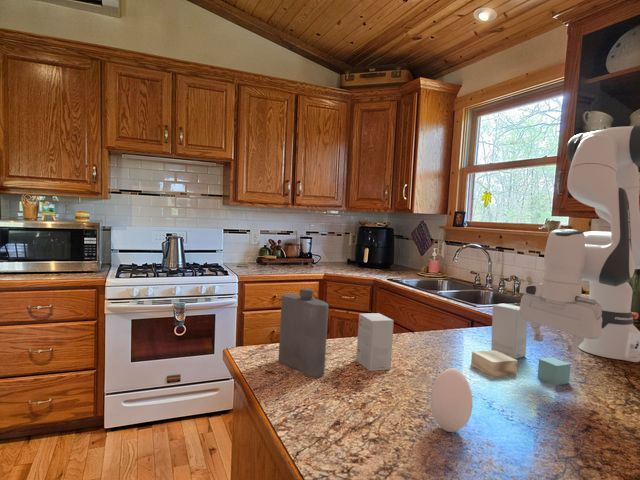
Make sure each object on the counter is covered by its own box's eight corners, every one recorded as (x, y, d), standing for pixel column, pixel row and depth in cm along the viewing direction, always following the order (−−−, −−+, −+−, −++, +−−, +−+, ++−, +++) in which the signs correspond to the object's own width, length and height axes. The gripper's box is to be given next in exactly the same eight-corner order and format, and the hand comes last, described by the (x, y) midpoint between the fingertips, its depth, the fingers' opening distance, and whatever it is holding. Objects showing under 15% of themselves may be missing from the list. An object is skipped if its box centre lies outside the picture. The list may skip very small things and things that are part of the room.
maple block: (494, 364, 114) (495, 350, 114) (516, 375, 106) (517, 360, 106) (470, 365, 111) (472, 351, 111) (491, 377, 104) (492, 362, 103)
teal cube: (550, 375, 107) (552, 357, 106) (568, 383, 102) (570, 364, 102) (537, 377, 105) (539, 358, 105) (555, 385, 100) (557, 365, 100)
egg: (442, 416, 80) (446, 358, 80) (477, 432, 75) (482, 371, 74) (420, 427, 76) (425, 366, 75) (456, 446, 70) (461, 379, 69)
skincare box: (525, 356, 121) (530, 308, 120) (514, 359, 118) (518, 309, 117) (500, 348, 128) (504, 302, 127) (488, 350, 125) (492, 303, 124)
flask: (330, 374, 99) (335, 293, 98) (313, 380, 95) (318, 295, 93) (291, 356, 109) (295, 283, 108) (274, 361, 105) (278, 285, 104)
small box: (391, 369, 104) (394, 320, 103) (369, 371, 102) (372, 321, 101) (376, 358, 112) (379, 312, 111) (355, 360, 109) (358, 313, 109)
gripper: (611, 301, 94) (604, 359, 94) (534, 285, 113) (529, 334, 113) (593, 301, 91) (586, 361, 92) (518, 285, 110) (512, 335, 111)
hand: (554, 346), depth 103 cm, fingers open, 8 cm apart
